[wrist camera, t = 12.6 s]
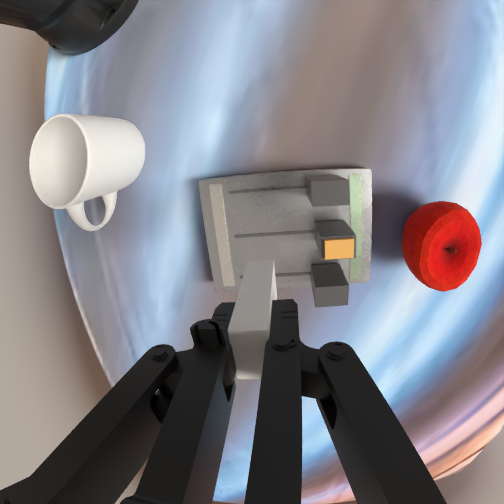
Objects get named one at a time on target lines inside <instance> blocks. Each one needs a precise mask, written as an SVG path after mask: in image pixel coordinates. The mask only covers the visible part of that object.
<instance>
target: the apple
mask: <svg viewBox="0 0 504 504" xmlns="http://www.w3.org/2000/svg"><path fill="white" fill-rule="evenodd" d="M481 245H482V243H481V235H480V230H479V227H478V225H477V223H476V220H475V219H474V217H473V216H472V215H471V214H470V213H469V211H468V210H467V209H465V208H463V207H462V206H460V205H458V204H456V203H452V202H445V201H438V202H432V203H428V204H426V205H423V206H421V207H420V208H418V209H417V210H416V211H414V212H413V213H412V214H411V215H410V216H409V218H408V219H407V220H406V222H405V224H404V229H403V235H402V251H403V255H404V259H405V262H406V264H407V266H408V268H409V269H410V271H411V272H412V273H413V274H414V276H415V277H416V278H417V279H418V280H419V281H421V282H422V283H423V284H425V285H426V286H427V287H429V288H432V289H435V290H438V291H443V292H444V291H448V290H452V289H456V288H457V287H459V286H460V285H461V284H462V283H464V282H465V281H466V280H467V279H468V277H469V276H470V274H471V272H472V271H473V269H474V268H475V266H476V264H477V260H478V256H479V253H480V249H481Z"/></svg>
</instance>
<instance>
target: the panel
mask: <svg viewBox="0 0 504 504" xmlns="http://www.w3.org/2000/svg"><path fill="white" fill-rule="evenodd" d="M320 175H339V176H341V177H343V178H345V179H348V180H349V199H350V205H341V206H321V207H312V205H311V203H310V201H309V199H308V196H307V182H306V176H320ZM198 185H199V192H200V200H201V207H202V213H203V220H204V227H205V233H206V239H207V246H208V252H209V258H210V264H211V270H212V276H213V281H214V287H215V290H240V286H241V283H242V280H243V276H244V273H245V269H246V266H247V263H248V261H256V260H272V259H274V267H275V279H276V288H285V287H303V286H312V284H311V265H321V264H337V263H339V264H340V266H341V268H342V270H343V273H344V275H345V277H346V280H347V282H348V283H361V282H369V280H370V265H371V242H372V184H371V169H370V168H328V169H307V170H291V171H277V172H265V173H254V174H243V175H234V176H225V177H217V178H209V179H203V180H200V181H198ZM343 220H344V221H345V222H346V223H347V224H348V225H349V227H350V228H351V229H352V230H353V232H354V233H355V234H356V258H350V259H334V260H321V258H320V255H319V252H318V248H317V245H316V242H315V222H324V221H343Z"/></svg>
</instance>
